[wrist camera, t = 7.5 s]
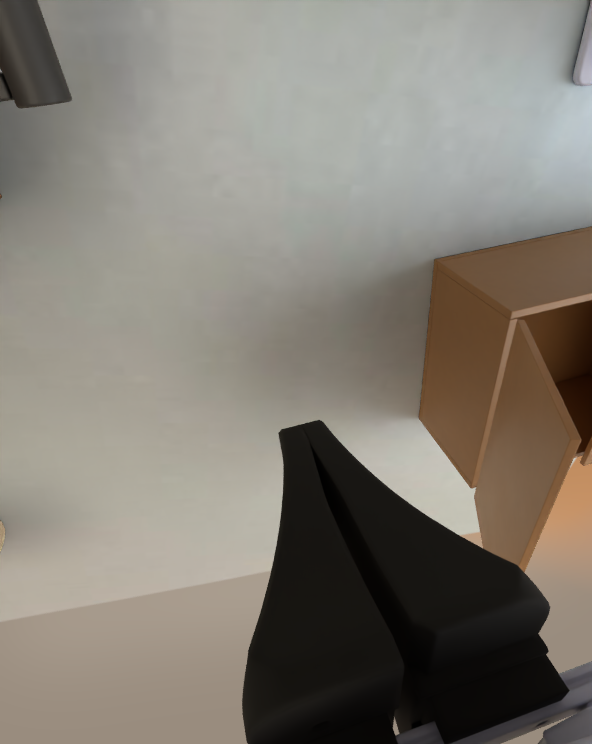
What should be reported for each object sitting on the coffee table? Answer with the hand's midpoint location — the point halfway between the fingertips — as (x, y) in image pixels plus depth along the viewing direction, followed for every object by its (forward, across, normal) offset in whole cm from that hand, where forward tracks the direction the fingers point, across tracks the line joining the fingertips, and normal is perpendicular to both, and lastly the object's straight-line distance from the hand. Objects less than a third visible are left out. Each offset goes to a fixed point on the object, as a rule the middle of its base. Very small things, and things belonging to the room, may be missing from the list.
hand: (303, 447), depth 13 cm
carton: (+10, -17, +6) cm, 21 cm away
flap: (0, -9, +6) cm, 11 cm away
